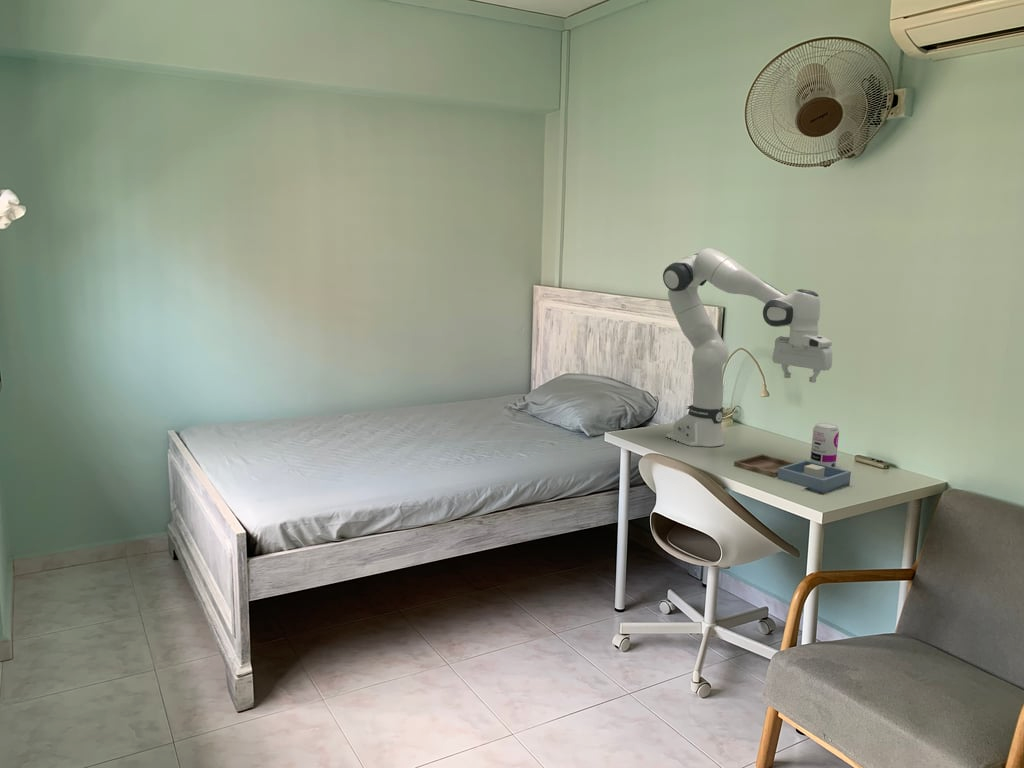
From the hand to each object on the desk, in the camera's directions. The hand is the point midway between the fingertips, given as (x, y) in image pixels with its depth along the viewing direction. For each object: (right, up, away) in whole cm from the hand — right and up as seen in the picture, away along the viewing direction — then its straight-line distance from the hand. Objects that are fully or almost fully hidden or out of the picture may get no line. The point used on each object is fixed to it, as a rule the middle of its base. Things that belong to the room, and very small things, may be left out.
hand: (799, 380), depth 266 cm
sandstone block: (+1, -32, -9) cm, 34 cm away
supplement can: (+11, -30, +9) cm, 34 cm away
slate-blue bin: (+1, -33, -9) cm, 35 cm away
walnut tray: (-9, -31, +4) cm, 32 cm away
